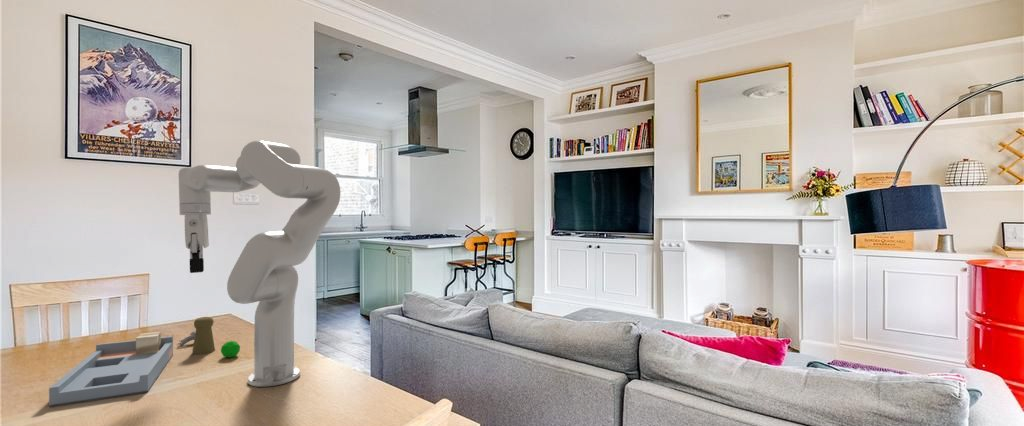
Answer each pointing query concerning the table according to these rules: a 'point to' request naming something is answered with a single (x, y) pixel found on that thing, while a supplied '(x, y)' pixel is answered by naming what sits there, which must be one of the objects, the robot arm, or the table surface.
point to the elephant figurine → (187, 339)
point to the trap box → (111, 373)
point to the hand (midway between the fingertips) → (196, 272)
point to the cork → (203, 336)
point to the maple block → (148, 343)
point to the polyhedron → (230, 349)
